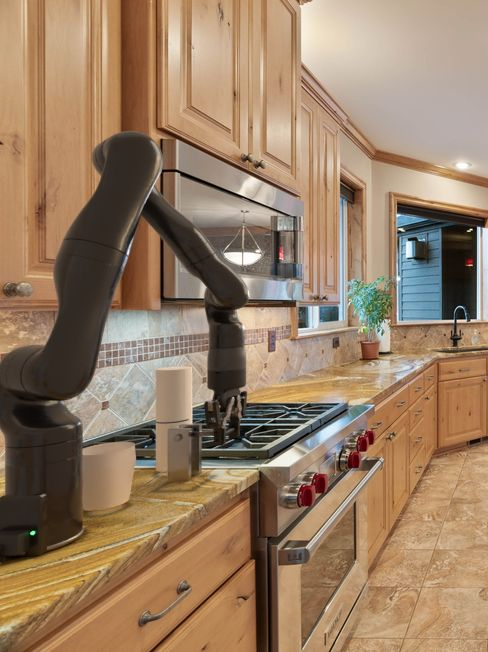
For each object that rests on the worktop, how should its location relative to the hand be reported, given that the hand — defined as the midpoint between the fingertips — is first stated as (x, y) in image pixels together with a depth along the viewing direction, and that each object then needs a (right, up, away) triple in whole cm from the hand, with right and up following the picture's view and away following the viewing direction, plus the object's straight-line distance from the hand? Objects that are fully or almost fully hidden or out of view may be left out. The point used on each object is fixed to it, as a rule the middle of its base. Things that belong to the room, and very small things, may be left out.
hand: (227, 440), depth 105 cm
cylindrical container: (-17, -9, +7) cm, 20 cm away
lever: (-5, +1, 0) cm, 5 cm away
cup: (-15, -10, -14) cm, 23 cm away
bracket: (-9, -9, -1) cm, 13 cm away
